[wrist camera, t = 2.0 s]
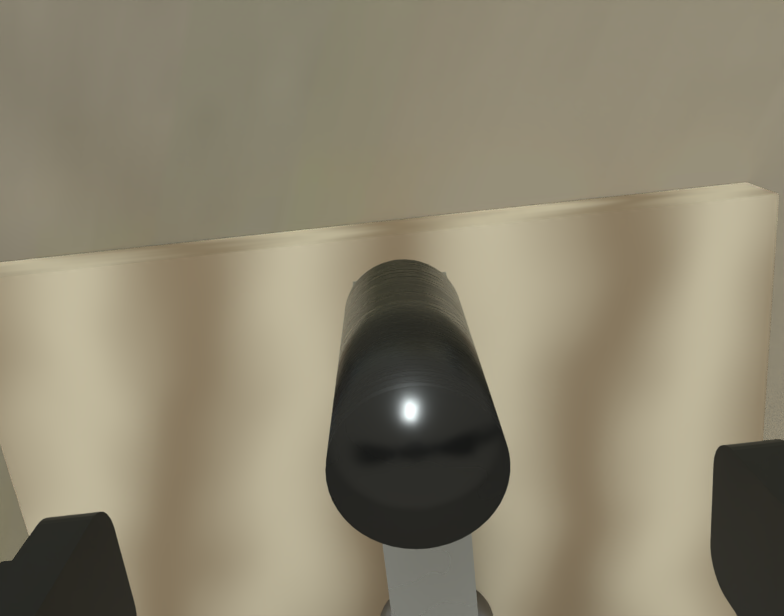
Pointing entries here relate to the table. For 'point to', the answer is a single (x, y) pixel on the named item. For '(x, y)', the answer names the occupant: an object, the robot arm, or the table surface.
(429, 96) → the table surface
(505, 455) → the lever
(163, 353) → the base
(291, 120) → the table surface
